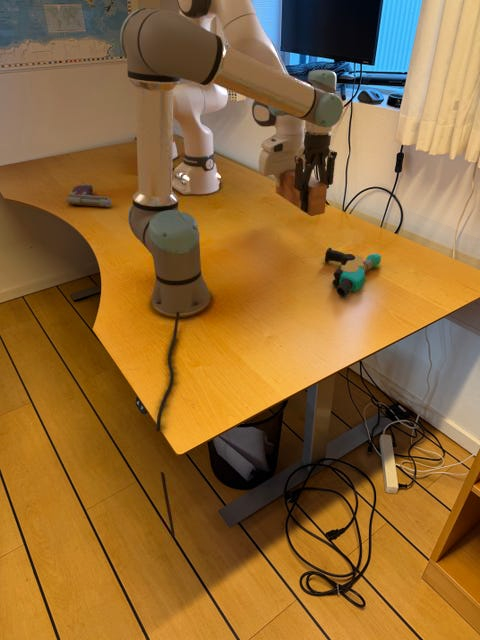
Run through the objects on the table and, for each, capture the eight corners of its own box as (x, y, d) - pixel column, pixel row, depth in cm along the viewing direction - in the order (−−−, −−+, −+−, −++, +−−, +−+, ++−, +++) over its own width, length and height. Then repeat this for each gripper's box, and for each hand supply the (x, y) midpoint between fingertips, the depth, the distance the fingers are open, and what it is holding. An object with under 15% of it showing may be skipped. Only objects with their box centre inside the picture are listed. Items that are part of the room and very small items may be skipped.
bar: (324, 213, 147) (327, 185, 142) (310, 216, 145) (313, 188, 140) (288, 190, 163) (289, 164, 158) (275, 192, 162) (276, 166, 156)
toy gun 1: (124, 195, 187) (108, 210, 175) (80, 192, 190) (61, 206, 178) (122, 185, 185) (106, 200, 173) (78, 182, 188) (59, 197, 176)
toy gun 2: (303, 277, 126) (358, 291, 120) (334, 239, 144) (384, 250, 139) (302, 292, 128) (356, 306, 123) (333, 252, 147) (381, 263, 141)
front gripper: (336, 124, 141) (328, 200, 154) (283, 132, 134) (280, 210, 148) (352, 130, 135) (342, 208, 149) (297, 139, 129) (292, 219, 143)
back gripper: (312, 134, 156) (309, 176, 164) (256, 143, 149) (256, 186, 157) (322, 139, 151) (319, 182, 159) (266, 148, 144) (265, 192, 152)
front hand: (311, 209), depth 148 cm, fingers closed on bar, 5 cm apart
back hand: (287, 184), depth 158 cm, fingers closed on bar, 5 cm apart
